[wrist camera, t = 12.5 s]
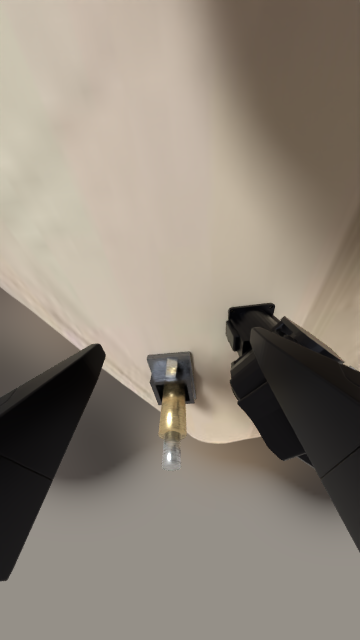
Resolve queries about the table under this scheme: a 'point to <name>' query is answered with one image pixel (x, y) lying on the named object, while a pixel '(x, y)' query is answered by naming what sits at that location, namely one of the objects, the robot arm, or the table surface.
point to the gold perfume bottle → (172, 424)
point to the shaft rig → (172, 374)
